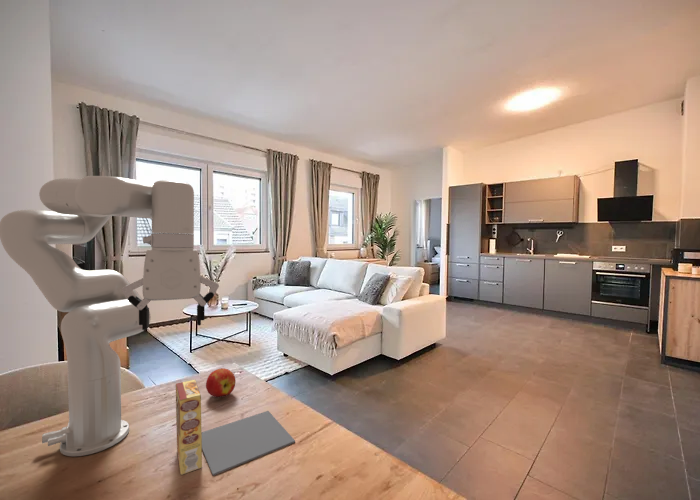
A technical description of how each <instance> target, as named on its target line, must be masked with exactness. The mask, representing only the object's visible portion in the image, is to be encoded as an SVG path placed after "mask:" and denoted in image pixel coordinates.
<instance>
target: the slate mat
mask: <svg viewBox="0 0 700 500" xmlns="http://www.w3.org/2000/svg"><path fill="white" fill-rule="evenodd" d="M201 432H202V454H203V456H204V458H205V460H206V462H207V465H208V468H209V470H210V472H211V474H212V476H214V477H215V476H217V475H219V474H221V473H223V472H226V471H229V470H230V469H233V468H235V467H236V468H237V467H238V466H241V465H243V464H247V463H248V462H250V461H253V460H256V459H258V458H260V457H262V456H265V455H268V454H270V453H273V452H276V451H278V450H280V449H282V448H284V447H288V446H290V445H292V444H295V443H296V440H295V439H294V438H293V436H292V435H291V434H290V433H289V432H288V431H287V429H285V428H284V426H283V425H282V424H281V423H280V422H279V421H278V419H276V418H275V417H274V415H273V414H272V413H271V412H270V411H269V410H266V411H263V412H261V413H260V412H259V413H256V414H253V415H252V416H251V415H250V416H248V417H244V418H242V419H238V420H236V421H232V422H229V423H226V424H223V425H220V426H217V427H214V428H211V429H208V430H205V431H201Z"/></svg>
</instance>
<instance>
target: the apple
mask: <svg viewBox="0 0 700 500" xmlns="http://www.w3.org/2000/svg"><path fill="white" fill-rule="evenodd" d="M236 381H237V380H236V377H235V374H234V372H232V370H229V369H228V368H224V367H223V368H221V367H220V368H217V369H215V370H213V371H212V372H210V374H209V375H208V377H207V379H206V381H205V388H206V391H207V393H208V395H210V396H212V397H213V398H219V399H220V398H225V397H228V396H229V395H230V394H232V392H233V391H234V389H235V387H236Z"/></svg>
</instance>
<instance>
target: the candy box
mask: <svg viewBox="0 0 700 500" xmlns="http://www.w3.org/2000/svg"><path fill="white" fill-rule="evenodd" d="M175 417H176V419H175V420H176V421H175V422H176V425H175V427H176V452H177V458H178V467H179V471H180V475H185V474H188V473H191V472H193V471H195V470H199V469H201V468H203V451H202V432H203V431H202V395H201V392H200V389H199V387H198V384H197V381H196V379H191V380H186V381H183V382H178V383H175Z"/></svg>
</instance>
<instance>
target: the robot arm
mask: <svg viewBox="0 0 700 500" xmlns="http://www.w3.org/2000/svg"><path fill="white" fill-rule="evenodd" d="M38 196H39V200H40V202H41V204H42V205H43V206H45V207H46V209H49V210H44V209H20V210H15V211H11V212H8V213H7V214H5V215H4V216H2V217H1V219H0V243H1V245H2V247H3V249H4V251H5V252H6V254H7V255H8V256H9V258H11V259H12V260H13V261H14V262H15V263H16V264H17V265H18V266H19V267H20V268H21V269H23V270H24V271H25V272H26V273H27V274H28V275H29V276H30V278H31V279H32V280H33V282H34V284H35V285H36V286H37V287H38V289H39V291H40V292H41V293H42V295H43V296H44V298H45V299H46V300H47V302H48V303H49V304H50V305H51V307H52V308H53V309H55V310H57V311H58V312H62V313H66V314H64V317H63V318H62V319H61V322H60V332H61V336H62V337H61V338H62V340H63V344H64V348H65V353H66V361H67V381H68V383H67V384H68V386H67V388H68V390H67V391H68V392H67V394H68V423H67V426H64V427H62V428H61V429H58V430H53V431H49V432H45V433H43V434H42V436H41V443H42V444H46V443H47V447H50V446H53V445H56V444H59V443H60V445H59V451H60V454H62V455H64V456H67V457H82V456H89V455H92V454H95V453H96V454H97V453H99V452H102V451H105V450H106V449H108V448H111V447H113V446H114V445H117V444H119V443H120V442H121V441H123V439H124V438H125V437H126V436H127V435H128V433H129V432H130V424H129V422H128V421H126V420H124V419H122V380H121V379H122V378H121V376H122V368H121V359H120V356H119V354H118V353H117V352H116V351H115V350H114V349H113V348H112V346H110V343H112V342H115V341H117V340H120V339H124V338H128V337H132V336H135V335H138V334H140V333H142V332H144V331H146V330H147V329H148V328H149V326H150V322H151V311H150V307H149V306H148V304H149V303H150V302H151V301H153V302H154V301H172V300H173V301H174V300H176V301H177V300H190V299H194V300H195V302H196V303H197V306H196V325H197V326H201V325H202V321H205V306H206V305H207V304H208V303H209V301H211V300H212V299H213V298H214V296H215V294H216V293H217V291H218V289H219V287H220V284H219V283H218V282H216V281H214V280H212V279H209V278H207V277H204V276H202V275H201V266H200V265H201V264H200V262H201V261H200V257H199V251H198V249H195V244H194V243H195V241H194V240H195V236H194V234H195V233H194V232H195V230H194V229H195V226H194V225H195V221H194V219H195V218H194V217H195V213H194V212H195V192H194V188H193V186H192V185H191V184H189V183H186V182H184V181H177V180H168V179H167V180H163V179H162V180H157V181H155V182H154V183H152V182H147V181H142V180H137V179H132V178H126V177H120V176H109V175H86V176H83V177H82V178H67V177H66V178H65V177H64V178H55V179H52V180H49V181H47V182H46V183H44V184H43V185H42V186H41V187H40V189H39V195H38ZM112 217H128V218H141V219H151V233H150V235H148V236H143V237H142V244H147V245H150V247H151V249H150V248H149V249H147V250H146V254H145V256H144V257H145V258H144V262H143V263H144V264H143V275H142V278H140V279H138V280H135V281H134V282H132V283H131V282H130V281H128V279H127V278H126V277H125V276H124V275H123V274H122V273H120V272H118V271H116V270H113V269H93V270H90V269H89V270H86V269H83V268H81V267H80V266H79V265H78V264H77V263H76V261H74V259H73V258H72V257H71V256H70V255H69V254H67V253H66V252H64V251H62V250H61V249H58V248H56V247H54V246H52V245H81V244H82V245H83V244H86V243H87V242H88V243H89V242H90V241H91V240H93V239H94V238H95V236H96V235H97V234H98V233H99V231H100V230H102V228H103V227H104V226H105V225H106V223H107V222H108V221H109V220H110V219H111V218H112ZM202 285H204V286H206V287H209V291H208V292H207V293H206V294H205V295H204V296H203V295H202V294H201V288H202ZM139 287H142V296H141V295H140V294H139V293H138V292H137V290H136V289H138V288H139Z"/></svg>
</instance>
